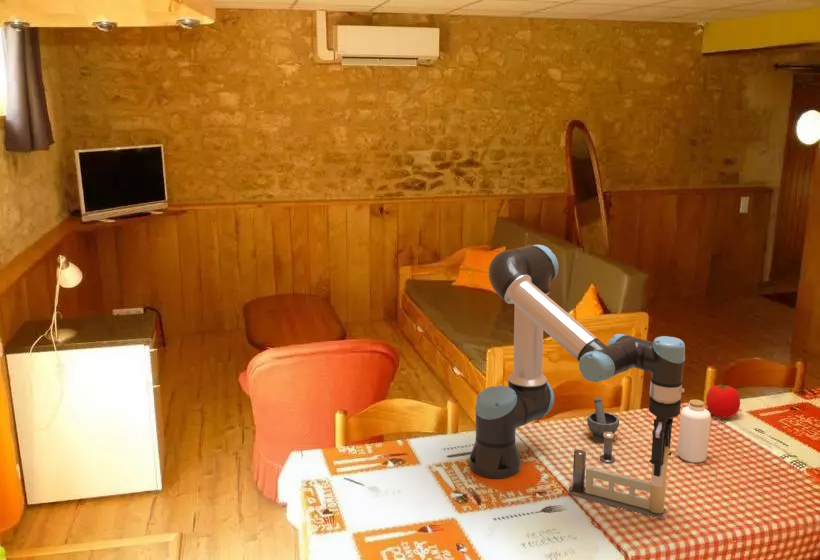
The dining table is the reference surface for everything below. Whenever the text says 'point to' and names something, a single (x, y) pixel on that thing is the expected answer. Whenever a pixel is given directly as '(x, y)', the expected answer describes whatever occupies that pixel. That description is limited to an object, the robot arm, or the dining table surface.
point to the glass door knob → (608, 448)
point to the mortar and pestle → (601, 421)
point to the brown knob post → (578, 474)
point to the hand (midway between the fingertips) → (658, 481)
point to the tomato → (723, 401)
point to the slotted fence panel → (651, 504)
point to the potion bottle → (694, 432)
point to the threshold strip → (622, 505)
